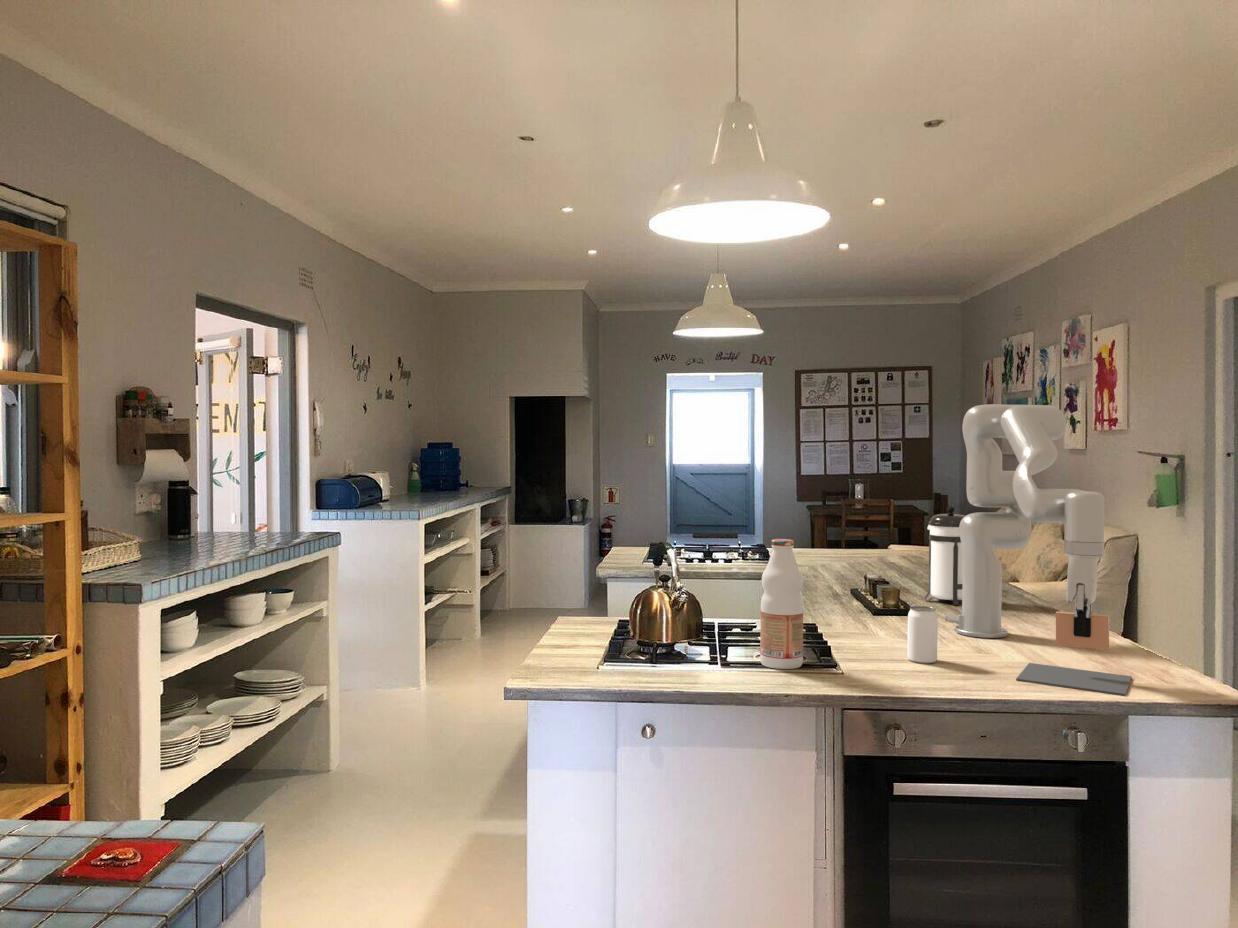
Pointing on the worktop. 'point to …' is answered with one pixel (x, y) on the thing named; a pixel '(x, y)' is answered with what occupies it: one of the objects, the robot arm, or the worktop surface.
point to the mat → (1075, 679)
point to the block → (1096, 640)
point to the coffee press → (945, 557)
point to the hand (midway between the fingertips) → (1082, 635)
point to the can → (922, 635)
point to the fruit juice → (782, 609)
